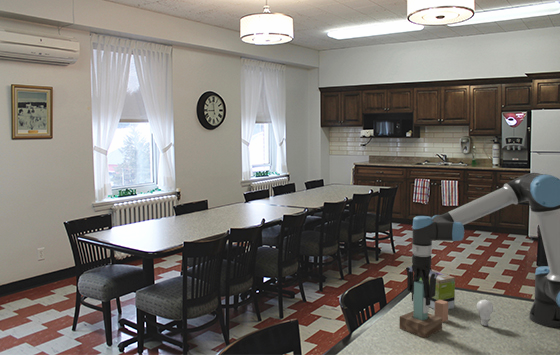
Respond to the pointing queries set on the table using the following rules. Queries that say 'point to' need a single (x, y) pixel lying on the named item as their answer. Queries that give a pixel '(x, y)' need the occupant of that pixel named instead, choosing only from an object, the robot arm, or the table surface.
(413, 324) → the socket block
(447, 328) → the table surface
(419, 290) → the long peg
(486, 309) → the lightbulb
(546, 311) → the robot arm
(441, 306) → the short peg
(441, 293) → the tea box
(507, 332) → the table surface
